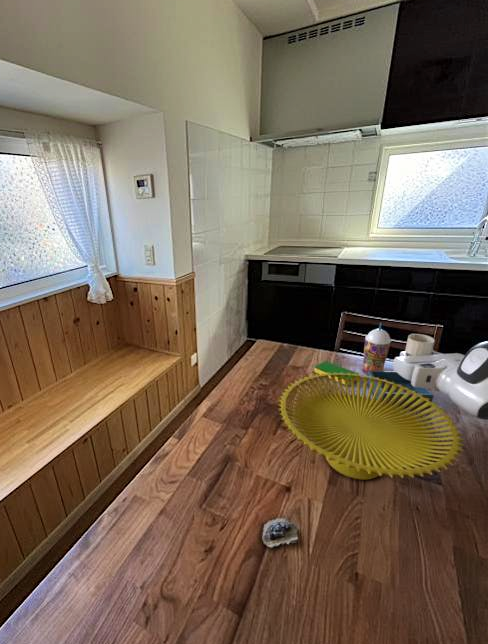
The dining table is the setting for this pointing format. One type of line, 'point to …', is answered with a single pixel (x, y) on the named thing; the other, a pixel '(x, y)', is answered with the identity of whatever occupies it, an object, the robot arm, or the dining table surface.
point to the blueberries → (279, 532)
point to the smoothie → (376, 349)
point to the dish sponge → (331, 368)
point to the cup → (419, 345)
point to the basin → (398, 379)
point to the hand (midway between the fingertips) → (415, 352)
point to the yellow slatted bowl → (368, 428)
